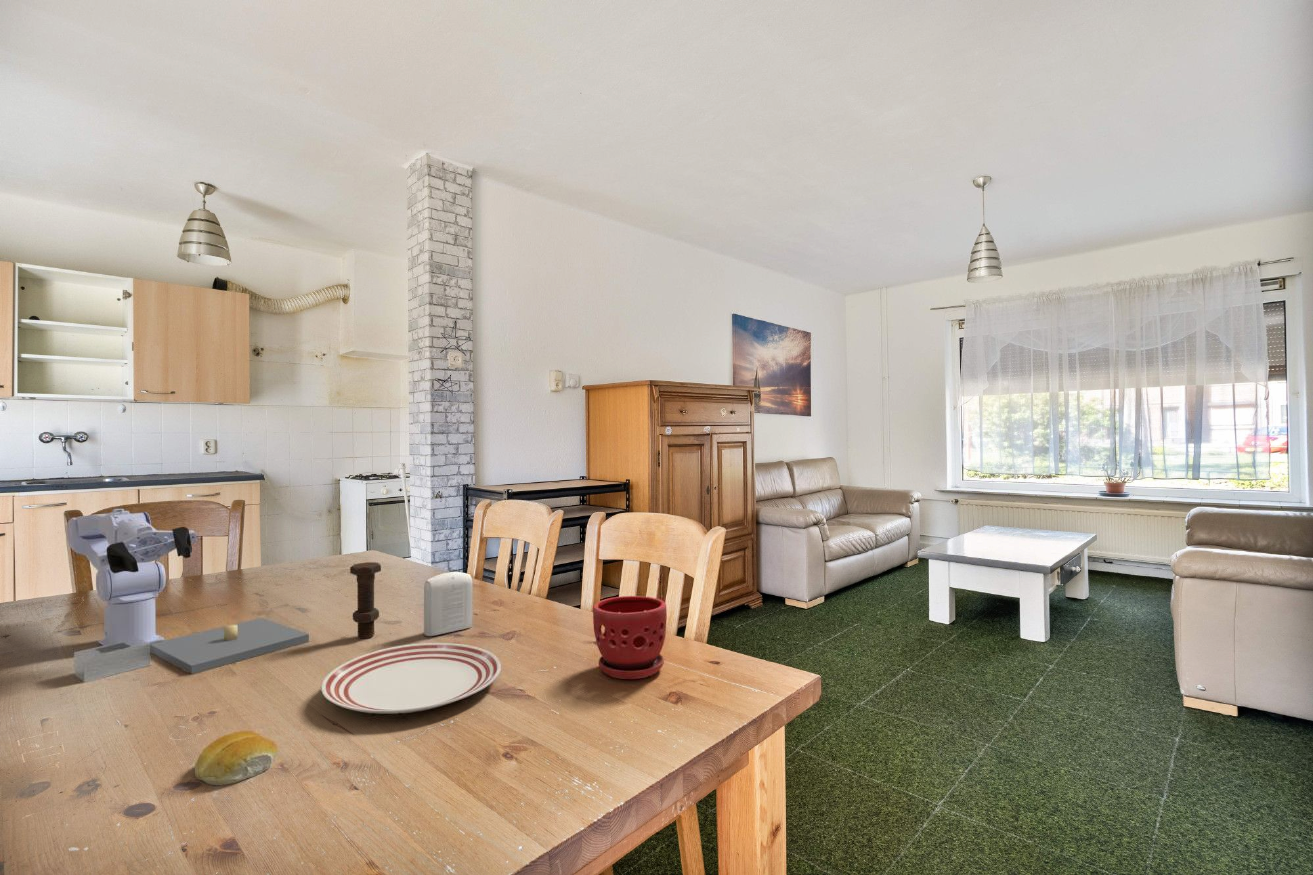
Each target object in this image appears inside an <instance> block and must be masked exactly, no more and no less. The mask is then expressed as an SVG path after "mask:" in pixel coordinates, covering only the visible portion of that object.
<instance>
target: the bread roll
mask: <svg viewBox="0 0 1313 875" xmlns="http://www.w3.org/2000/svg"><path fill="white" fill-rule="evenodd" d="M278 750H279V749H278V746H277V744H276V742H275V741H274V740H271V739H270V738H267V737H264V736H262V735H261V734H259V733H257V732H256V731H255V732H254V731H251V730H242V731H234V732H231V733H228V734H225V735H222V736H220V737H218V738H217V739H215V740H213V741H212V742H210V743H209V744H208V745H207V746H206V747H205V748H204V749H203V750H202V751H201V753H200V754H199V756H198V758H197V760H196V762H195V765H194V775H195V777H196V779H198V780H199V781H203V782H204V783H205V784H207V785H212V786H223V785H226V786H227V785H232V784H236V783H239V782H242V781H245V780H247V778H248V779H251V778H254V777H255V776H257V775H261V773H263V772H265V771H267V770H268V769H270V767H271V765H272V764H273V763H274V762H275V759H276V758H277V755H278V754H279V751H278Z"/></svg>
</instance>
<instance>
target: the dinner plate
mask: <svg viewBox="0 0 1313 875" xmlns="http://www.w3.org/2000/svg"><path fill="white" fill-rule="evenodd" d="M501 670H502V664H501V662H500V660H499V658H498V657H497V656H496V655H495V654H493V653H492V652H491V651H488V650H486V649H484V648H480V647H478V646H473V645H468V644H462V643H450V642H430V643H429V642H424V643H413V644H404V645H398V646H397V645H396V646H392V647H387V648H384V649H380V650H379V649H378V650H376V651H372V652H369V653H366V654H363V655H362V654H361V655H359V656H357V657H355V658H352V659H350V660H348V661H346V662H344V663H342V664H340V665H338V666H337V667H336V668H333V670H331V671H330V672H329V673H328V674H327V675H326V676H325V677H324V679H323V680H322V682H321V686H320V690H321V693H322V695H323V697H325V699H326V700H327V701H329V702H331V703H333V704H335V705H336V706H339V707H340V708H344V709H348V710H351V711H355V712H361V713H368V714H378V715H379V714H380V715H381V714H384V715H385V714H386V715H388V714H389V715H396V714H397V715H399V714H398V713H402V714H411V713H417V711H418V712H423V711H427V710H431V709H435V708H439V707H442V706H446V705H448V704H452V703H455V702H457V701H460V700H463V699H465V698H468V697H470V696H473V695H474V694H477V693H478V692H481V691H482V690H484V689H486V688H487V687H488V686H490V684H492V683H493V682H495V681H496V679H497V678H498V677H499V675H500V673H501Z"/></svg>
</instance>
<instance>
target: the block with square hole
mask: <svg viewBox="0 0 1313 875" xmlns="http://www.w3.org/2000/svg"><path fill="white" fill-rule="evenodd" d="M150 644H151V643H148V642H146V641H144V640H142V639H140V638H136V639H131V640H127V641H122V642H118V643H114V644H109V645H105V646H103V645H101V646H96V647H92V648H87V649H84V650H83V649H82V650H77V651H74V652H73V667H74V668H73V672H74V673H73V674H74V676H75V677H76V678H78V679H79V680H81V681H82V682H83V683H86V682H87V683H88V682H91V681H94V680H98V679H103V678H106V677H110V676H114V675H118V674H123V673H125V672H126V673H127V672H130V671H135V670H137V669H142V668H145V667H150V666H151V652H150Z"/></svg>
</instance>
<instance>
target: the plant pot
mask: <svg viewBox="0 0 1313 875" xmlns="http://www.w3.org/2000/svg"><path fill="white" fill-rule="evenodd" d="M592 615H593V616H592V619H593V622H592V623H593V632H594V636H595V642H596V646H597V649H598V651H599V653H600V655H601V657H600V658H599V660H598V667H599V669H600V670H601V671H602V672H603V673H605V674H606V675H608V676H611V677H612V678H616V679H620V680H621V679H622V680H637V679H643V678H649V677H648V676H650V677H652V676H653V675H655V674H656V673H658V672H659V671H660V670H661V668H662V667H663V666H664V663H665V659H664V657H663V655H662V654H661V651H662V649H663V647H664V644H665V639H666V634H667V620H668V619H667V617H668V616H667V603H666V602H665V601H664V600H662V599H661V598H660V599H659V598H655V597H651V596H644V595H643V596H642V595H627V596H625V595H624V596H622V595H621V596H616V597H615V596H614V597H610V598H606V599H605V598H604V599H602V600H600V601H597V602H596V603H594V604H593V606H592ZM602 627H604V631H603V632H602Z"/></svg>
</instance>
